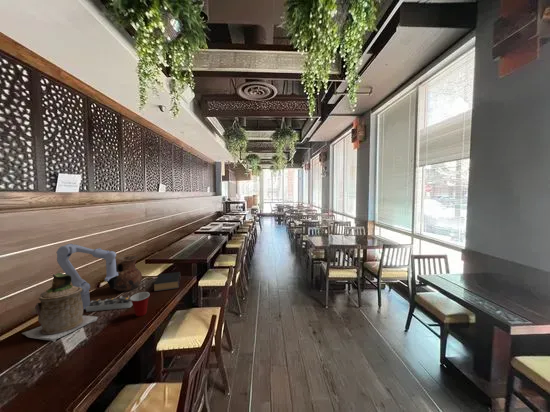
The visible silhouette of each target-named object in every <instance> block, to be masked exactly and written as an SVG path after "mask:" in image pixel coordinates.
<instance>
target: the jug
mask: <svg viewBox="0 0 550 412" xmlns="http://www.w3.org/2000/svg"><path fill="white" fill-rule="evenodd" d="M138 258H139V256H136V255H133V256H121V257H119V258H116V272H118V276H115V277H118V278H117V280H116V283H115V288H114V289H115V290H116V291H117V292H127V291H133V290H135V289H136V288H137V287H138V286H139V285H140V284H141V282H142V279H143V274H142V272H141V271H140V270H139V269H138V268H137V267H136V264H137V259H138Z"/></svg>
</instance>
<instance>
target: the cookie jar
mask: <svg viewBox="0 0 550 412" xmlns="http://www.w3.org/2000/svg"><path fill="white" fill-rule="evenodd" d="M52 277H53V278H52V283H51V287H50V288H48V289H47V290H46V291H43V292H41V294H40V295H39V297H38V300H39V301H40V302H37V303H36V305H35V307H34V309H35V313H36V314H37V315H38V316H37V317H38V318H37V320H38V323H39V324H40V326H37V327H35V328H32V329H30V330H26V331H24V332H22V333H21V334H22V335H24V336H25V337H27V338H29V339H36V340H43V341H50V342H53V343H54V342H55V343H56V341H57V340H58V339H60V338H62V337H64V336H67V335H69V334H70V333H73V332H75V331H77V330H79V329H81V328H83V327H85V326H87V325H90V324H92V323H94V322H97V320H98V316H93V315H91V316H90V315H84V310H83V302H82V299H81V294H80V292H81V291H82V288H81V287H76V286H73V285H72V282H71V280H72V279H71V276H70V275H67V274H65V273H59V272H58V273H56V274H52Z"/></svg>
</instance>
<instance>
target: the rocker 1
mask: <svg viewBox="0 0 550 412" xmlns="http://www.w3.org/2000/svg"><path fill="white" fill-rule="evenodd" d="M101 299H102V298H98V299H95V300H90V305H92V304H93V303H95V304H96V303H98V302H100V301H102V300H101Z"/></svg>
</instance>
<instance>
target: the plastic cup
mask: <svg viewBox="0 0 550 412" xmlns="http://www.w3.org/2000/svg"><path fill="white" fill-rule="evenodd" d="M150 295H151V294H150V292H148V291H142V292H138V293H135V294H133V295H132V296H129V298H130V300H131V301H132V304H133V305H132V306H133V309H134V313H135V316H136V317H143V316H145V315H146V314H147V312H148V305H149V304H148V303H149V297H150Z"/></svg>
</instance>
